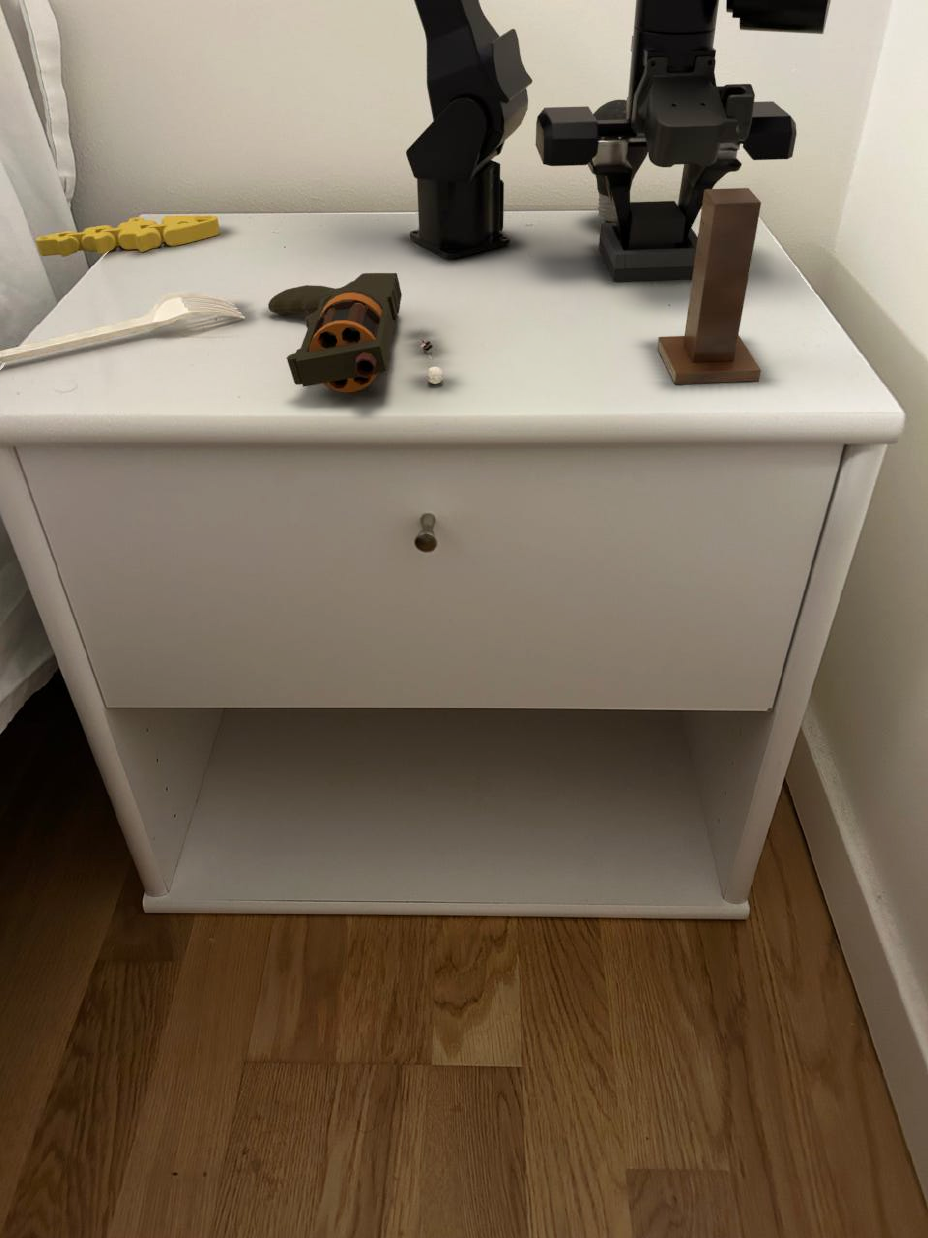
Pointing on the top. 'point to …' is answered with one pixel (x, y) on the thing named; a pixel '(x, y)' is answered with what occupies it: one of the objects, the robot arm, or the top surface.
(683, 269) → the base pad
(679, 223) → the black block
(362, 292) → the toy gun
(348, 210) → the top surface
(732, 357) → the stand
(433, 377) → the figurine set
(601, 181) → the light bulb
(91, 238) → the toy
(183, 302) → the fork
